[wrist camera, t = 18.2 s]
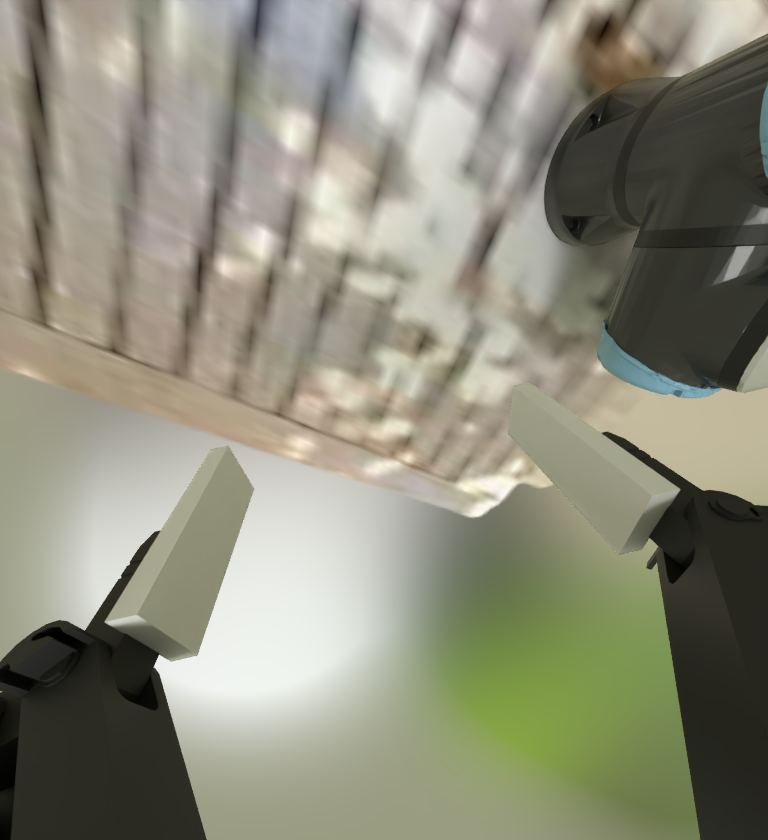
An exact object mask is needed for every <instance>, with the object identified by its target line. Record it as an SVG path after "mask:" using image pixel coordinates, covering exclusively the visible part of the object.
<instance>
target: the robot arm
mask: <svg viewBox="0 0 768 840" xmlns="http://www.w3.org/2000/svg"><path fill="white" fill-rule="evenodd" d="M545 208H546V214H547V218H548V222H549V224H550V226H551V228H552V230H553V232H554V233H555V234H556V235H557V237H559V238H560V239H561V240H562V241H564V242H566V243H568V244H571V245H577V246H590V245H598V244H603V243H606V242H609V241H611V240H614V239H616V238H618V237H621V236H623V235H625V234H628V233H630V232H632V231H635V230H637V229H639V228H640V231H639V233H638V236H637V239H636V242H635V244H634V247H633V249H632V252H631V255H630V257H629V260H628V263H627V266H626V268H625V271H624V273H623V276H622V279H621V281H620V284H619V287H618V289H617V292H616V294H615V297H614V300H613V302H612V305H611V308H610V310H609V313H608V315H607V318H606V319H605V320H604V322H603V325H602V330H603V331H602V335H601V338H600V341H599V344H598V347H597V356H598V359H599V360H600V362H601V364H602V366H603V367H604V368H605V369H606V370H608V371H609V372H610V373H611V374H613V375H614V376H616V377H618V378H619V379H621V380H623V381H625V382H627V383H630V384H632V385H634V386H637V387H639V388H642V389H645V390H648V391H651V392H655V393H659V394H664V395H667V394H669V393H670V394H673V395H675V396H677V397H682V398H701V397H707V396H710V395H712V394H714V393H715V392H718V391H719V390H721V389H722V388H725V389H729V390H732V391H736V392H741V393H746V392H751V391H755V390H759V389H763V388H767V387H768V34H766V35H764V36H762V37H760V38H758V39H756V40H754V41H752V42H750V43H748V44H746V45H744V46H742V47H740V48H738V49H736V50H734V51H732V52H730V53H728V54H726V55H724V56H722V57H720V58H718V59H716V60H714V61H712V62H710V63H708V64H706V65H704V66H702V67H700V68H698V69H696V70H694V71H692V72H690V73H688V74H686V75H684V76H682V77H664V78H642V79H636V80H632V81H629V82H626V83H624V84H622V85H619V86H618V87H616V88H614V89H612V90H610V91H609V92H607V93H605V94H603V95H602V96H600V97H599V98H597V99H596V100H594V101H593V102H592V103H590V104H589V105H588V106H587V107H586V108H585V109H584V110H583V111H582V112H581V113H580V114H579V115H578V116H577V118H576V119H575V120H574V121H573V123H572V124H571V125H570V127H569V128H568V130H567V131H566V133H565V134H564V136H563V138H562V140H561V141H560V143H559V145H558V147H557V149H556V152H555V154H554V157H553V159H552V162H551V165H550V168H549V172H548V176H547V182H546V189H545ZM508 434H509V435H510V437H511V438H512V439H513V440H514V441H515V442H516V443H517V444H518V445H519V446H520V447H521V449H522V450H523V451H524V452H525V453H526V454H527V455H528V456H529V457H530V458H531V459H532V461H533V462H534V463H535V464H536V465H537V466H538V467H539V468H540V469H541V470H542V472H543V473H544V474H545V475H546V476H547V477H548V478H549V479H550V480H551V481H552V482H553V484H554V485H555V486H556V487H557V488H558V489H559V490H560V491H561V492H562V493H563V494H564V496H565V497H566V498H567V499H568V500H569V501H570V502H571V503H572V504H573V505H574V507H575V508H576V509H577V510H578V511H579V512H580V513H581V514H582V515H583V516H584V517H585V519H586V520H587V521H588V522H589V523H590V524H591V525H592V526H593V527H594V528H595V529H596V531H597V532H598V533H599V534H600V535H601V536H602V537H603V538H604V539H605V540H606V541H607V543H608V544H609V545H610V546H611V547H612V548H613V549H614V550H615V551H616V552H617V554H618V555H621V554H625V553H629V552H634V551H638V550H641V549H642V548H643V547H644V545H645V544H646V542H647V541H648V539H649V538H650V539H651V540H653V541H654V542H655V543H656V544H657V545H658V546H659V547H658V548H657V550H656V551H655V552H654V554H653V555H652V557H651V558H650V560H649V561H648V563H647V568H648V569H652V568H653V566H654V565H655V564H656V563H657V565H658V572H659V578H660V584H661V590H662V597H663V602H664V609H665V615H666V622H667V628H668V635H669V641H670V648H671V654H672V660H673V667H674V673H675V680H676V686H677V692H678V699H679V705H680V712H681V718H682V724H683V731H684V737H685V743H686V750H687V756H688V763H689V769H690V775H691V782H692V788H693V794H694V801H695V807H696V813H697V819H698V826H699V833H700V839H701V840H768V506H759V505H753V504H752V503H751V502H748V501H746V500H744V499H742V498H740V497H738V496H735V495H732V494H728V493H725V492H721V491H713V490H706V491H703V490H701V489H699V488H698V487H696V486H695V485H693V484H692V483H690V482H689V481H687V480H686V479H684V478H683V477H681V476H680V475H678V474H677V473H675V472H674V471H672V470H671V469H669V468H668V467H666V466H665V465H663V464H662V463H660V462H659V461H657V460H656V459H654V458H651V457H650V455H648V454H647V453H645V452H644V451H642V450H639V448H638V447H636V446H635V445H633V444H632V443H630V442H629V441H627V440H626V439H624V438H622V437H619V436H617V435H614V434H612V433H609V432H603V433H600V432H599V431H597V430H596V429H594V428H593V427H592V426H590V425H589V424H587V423H586V422H585V421H583V420H582V419H580V418H579V417H577V416H576V415H575V414H573V413H572V412H570V411H569V410H568V409H566V408H565V407H563V406H562V405H560V404H559V403H558V402H556V401H555V400H553V399H552V398H551V397H549V396H548V395H546V394H545V393H544V392H542V391H541V390H539V389H538V388H536V387H535V386H534V385H532V384H531V383H526V384H521V385H516V386H514V387H513V396H512V404H511V412H510V420H509V429H508ZM253 490H254V488H253V486H252V484H251V483H250V481H249V479H248V478H247V476H246V474H245V473H244V471H243V469H242V468H241V466H240V464H239V463H238V461H237V459H236V458H235V456H234V454H233V453H232V451H231V449H230V448H229V446H226V447H221V448H216V449H211V450H210V452H209V454H208V455H207V457H206V459H205V460H204V462H203V464H202V465H201V467H200V468H199V470H198V471H197V473H196V475H195V476H194V478H193V479H192V481H191V483H190V484H189V486H188V488H187V489H186V491H185V492H184V494H183V496H182V497H181V499H180V501H179V502H178V504H177V505H176V507H175V509H174V510H173V512H172V513H171V515H170V517H169V518H168V520H167V522H166V523H165V525H164V527H163V528H162V530H161V531H156V532H154V533H153V534H152V535H151V536H150V537H149V538H148V539H147V540H146V541H145V542H144V543H143V544H142V545H141V546H140V548H139V549H138V550H137V552H136V553H135V555H134V556H133V558H132V560H131V561H130V565H128V566H127V567H126V569H125V570H124V572H123V573H122V575H121V579H118V581H117V583H116V584H115V586H114V587H113V589H112V590H111V592H110V593H109V595H108V596H107V598H106V599H105V601H104V602H103V604H102V605H101V607H100V608H99V610H98V612H97V613H96V615H95V616H94V618H93V619H92V621H91V622H90V624H89V625H88V627H87V628H86V630H85V631H84V630H82V629H81V628H78V627H77V626H75V625H73V624H71V623H69V622H67V621H61V620H58V621H55V622H52V623H49V624H46V625H45V626H43V627H41V628H40V629H38V630H36V631H34V632H32V633H31V634H30V635H29V636H27V637H26V638H25V639H23V640H22V641H21V642H20V643H19V644H17V645H16V646H15V647H14V648H13V649H12V650H11V651H10V652H9V653H8V654H7V655H6V656H5V657H4V658H3V659H2V661H1V662H0V691H3V692H1V693H0V840H207V839H206V836H205V832H204V829H203V826H202V822H201V818H200V815H199V812H198V808H197V804H196V801H195V797H194V794H193V790H192V787H191V783H190V780H189V777H188V773H187V769H186V766H185V762H184V759H183V756H182V752H181V748H180V745H179V742H178V738H177V734H176V731H175V727H174V724H173V721H172V717H171V714H170V710H169V706H168V703H167V699H166V696H165V692H164V689H163V685H162V682H161V678H160V675H159V673H158V672H157V670H156V669H155V668H153V667H154V665H155V662H156V660H157V658H158V655H161V656H163V657H164V658H166V659H168V660H170V661H175V660H180V659H184V658H188V657H192V656H197V655H198V652H199V649H200V646H201V643H202V640H203V637H204V634H205V631H206V628H207V625H208V622H209V619H210V617H211V614H212V611H213V608H214V605H215V602H216V599H217V596H218V593H219V590H220V587H221V584H222V581H223V578H224V576H225V573H226V570H227V567H228V564H229V561H230V558H231V555H232V552H233V549H234V546H235V543H236V540H237V537H238V534H239V532H240V528H241V525H242V523H243V520H244V517H245V513H246V511H247V508H248V505H249V502H250V499H251V496H252V493H253Z"/></svg>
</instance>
